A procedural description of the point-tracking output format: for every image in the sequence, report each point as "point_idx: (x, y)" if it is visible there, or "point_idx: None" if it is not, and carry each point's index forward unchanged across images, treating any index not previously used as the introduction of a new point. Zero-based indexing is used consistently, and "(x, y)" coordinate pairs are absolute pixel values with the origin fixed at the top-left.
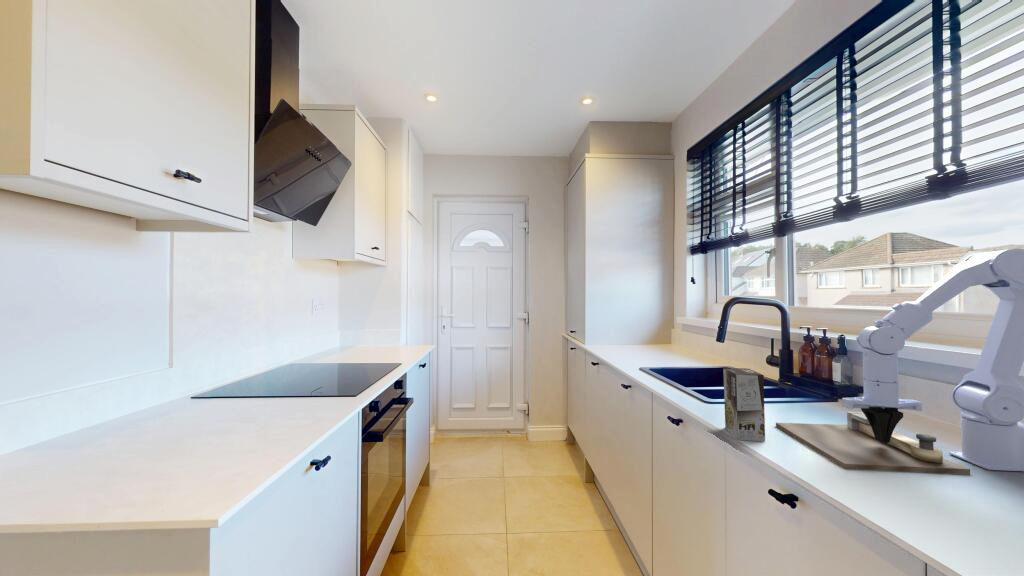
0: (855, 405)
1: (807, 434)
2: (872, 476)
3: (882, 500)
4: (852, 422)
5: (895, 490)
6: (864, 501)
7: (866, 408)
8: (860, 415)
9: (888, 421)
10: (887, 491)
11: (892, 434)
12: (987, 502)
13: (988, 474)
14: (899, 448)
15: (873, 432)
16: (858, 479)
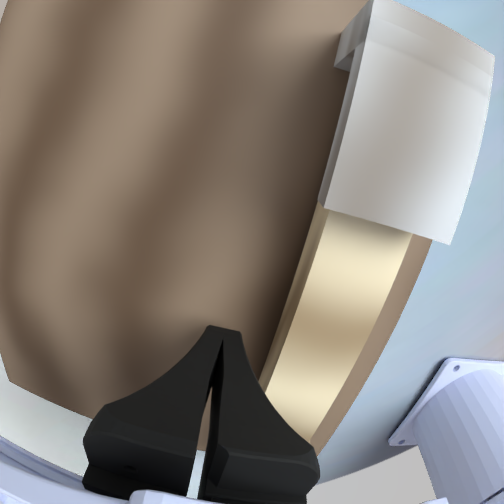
0: (3, 461)
1: (11, 141)
2: (53, 411)
3: (30, 444)
4: (350, 59)
5: (63, 445)
6: (8, 435)
7: (90, 470)
8: (393, 104)
9: (203, 468)
10: (49, 440)
11: (313, 348)
12: (187, 496)
13: (356, 451)
14: (263, 369)
15: (198, 340)
16: (23, 406)
